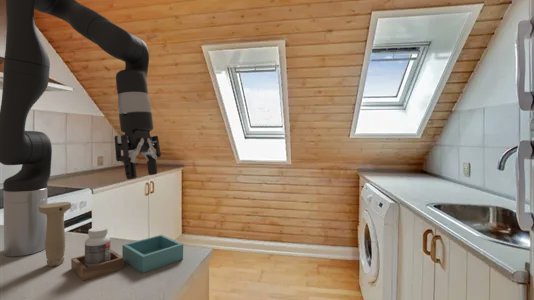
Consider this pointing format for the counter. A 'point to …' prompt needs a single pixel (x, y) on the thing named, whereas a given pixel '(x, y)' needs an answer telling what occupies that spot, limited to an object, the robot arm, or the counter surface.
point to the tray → (152, 253)
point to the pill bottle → (97, 246)
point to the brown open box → (96, 266)
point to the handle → (55, 231)
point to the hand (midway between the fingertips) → (142, 176)
